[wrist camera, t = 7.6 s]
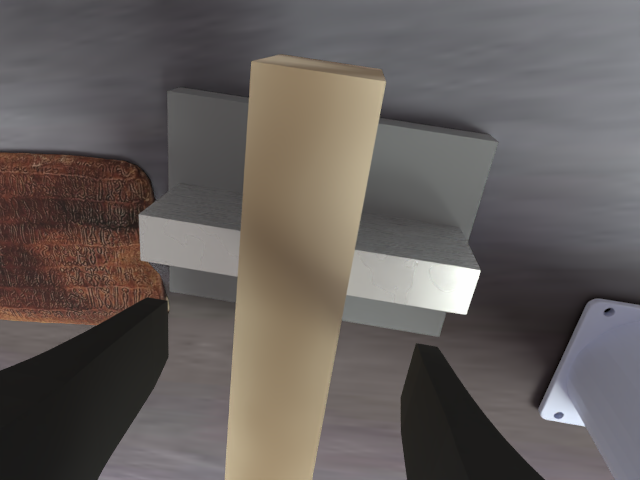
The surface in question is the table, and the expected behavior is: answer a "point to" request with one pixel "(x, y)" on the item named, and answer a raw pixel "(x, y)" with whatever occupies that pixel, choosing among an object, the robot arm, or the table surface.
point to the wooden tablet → (72, 238)
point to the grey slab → (380, 197)
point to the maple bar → (295, 254)
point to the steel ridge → (368, 262)
